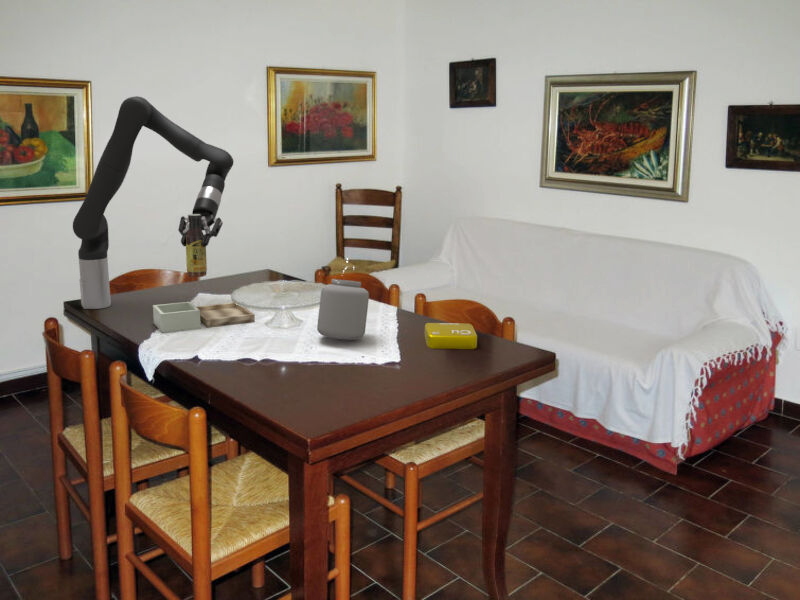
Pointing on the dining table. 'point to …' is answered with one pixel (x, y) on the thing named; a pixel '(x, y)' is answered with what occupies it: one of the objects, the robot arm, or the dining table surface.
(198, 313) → the box
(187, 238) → the sauce bottle
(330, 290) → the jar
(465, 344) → the element tile
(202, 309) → the tray
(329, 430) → the dining table surface
